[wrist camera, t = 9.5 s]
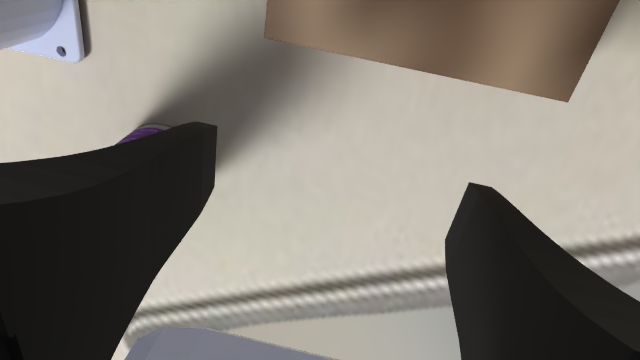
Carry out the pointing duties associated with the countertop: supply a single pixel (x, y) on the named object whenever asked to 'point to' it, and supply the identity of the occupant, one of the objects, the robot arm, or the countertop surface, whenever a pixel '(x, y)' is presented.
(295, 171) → the countertop surface
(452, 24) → the walnut box
